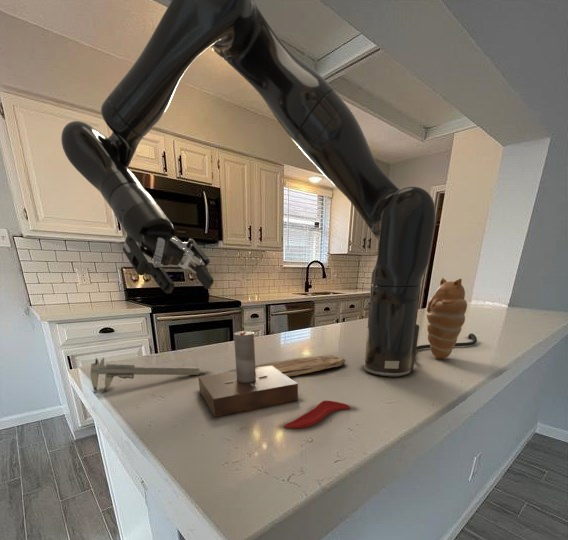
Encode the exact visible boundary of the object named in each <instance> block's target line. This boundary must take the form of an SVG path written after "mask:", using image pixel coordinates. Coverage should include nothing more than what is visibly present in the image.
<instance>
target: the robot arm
mask: <svg viewBox="0 0 568 540" xmlns="http://www.w3.org/2000/svg"><path fill="white" fill-rule="evenodd" d="M209 48H210V49H211V50H212V51H213V52H215V54H217V55H218V56H219V57H221V59H223V60H224V61H225V62H226V63H227V64H229V65H230V66H231V68H233V70H235V71H236V72H237V73H238V74H239V75H240V76H241V77H243V79H244V80H245V81H246V82H248V84H250V86H252V88H254V90H255V91H256V92H257V94H259V95H260V97H261V98H262V100H263V101H264V102H265V104H266V105H267V107H268V108H269V110H270V111H271V113H272V114H273V115H274V117H275V119H276V120H277V122H278V123H279V124H280V125H281V127H282V128H283V130H284V131H285V132H286V134H287V135H288V136H289V138H290V139H291V140H292V141H293V143H294V144H295V145H296V146H298V148H299V149H300V150H301V152H302V153H303V154H304V155H305V156H306V157H307V158H308V159H309V161H310V162H312V163H313V165H314V166H316V168H317V169H318V170H319V171H320V172H321V173H322V174H323V176H325V177H326V178H327V179H328V180H329V182H331V184H333V185H334V186H335V187H336V188H337V189H338V190H339V191H340V192H341V193H342V194H343V195H344V197H346V198H347V200H348V201H349V202H350V203H351V205H352V206H353V207H354V209H355V210H356V212H357V213H358V214H359V215H360V217H361V219H362V220H363V221H364V222H365V224H366V225H367V227H368V228H369V230H370V232H371V233H372V235H373V236H374V237H375V238H376V240H377V241H378V247H377V248H378V249H377V255H376V262H375V264H374V268H373V269H372V272H371V278H370V290H369V303H368V304H369V305H368V318H367V327H366V328H367V329H366V341H365V342H366V343H365V354H364V364H363V369H364V371H365V372H367V373H369V374H372V375H376V376H381V377H391V378H392V377H393V378H396V377H404V376H407V375H409V374H410V373H411V372H412V371H414V369H415V362H416V355H417V351H419V350H423V349H424V350H425V349H430V345H431V344H430V343H428V344H421V345H418V340H419V334H420V325H419V324H417V320H418V314H419V313H418V312H419V305H420V298H421V289H422V285H423V284H422V282H423V278H424V275H425V273H426V271H427V268H428V265H429V263H430V257H431V250H432V245H433V240H434V239H433V238H434V234H435V227H436V219H437V218H436V214H437V213H436V205H435V202H434V199H433V197H432V196H431V194H430V193H429V192H428V191H427V190H426V189H424V188H422V187H419V186H407V187H403V188H399V187H398V186H397V185H396V184H395V183H394V182H393V181H392V179H390V177H388V176H387V174H385V173H384V171H383V170H382V168H381V167H380V166H379V164H378V163H377V161H376V159H375V157H374V155H373V153H372V151H371V148H370V146H369V143H368V141H367V139H366V137H365V135H364V132H363V130H362V128H361V125H360V124H359V122H358V120H357V118H356V116H355V115H354V113H353V111H351V109H350V108H349V106H348V105H347V104H346V103H345V101H344V100H343V98H342V97H341V96H340V95H339V94H338V93H337V92H336V90H335V89H334V88H333V87H332V85H331V84H330V83H329V82H328V81H327V80H326V79H325V77H323V76H322V75H320V74H319V72H317V71H316V70H315V69H314V68H312V66H309V65H308V64H307V63H306V62H305V61H303V60H302V59H300V58H298V57H297V56H296V55H294V53H293V52H291V50H289V49H288V48H287V46H286V45H285V44H284V43H283V41H281V39H280V38H279V37H278V35H277V33H276V32H275V31H274V30H273V28H272V27H271V25H270V24H269V22H268V21H267V19H266V18H265V17H264V15H263V13H262V11H261V10H260V9H259V6H258V5H257V3H256V1H255V0H171V1H170V2H169V4H168V6H167V8H166V10H165V11H164V13H163V15H162V17H161V19H160V21H159V22H158V24H157V25H156V28H155V29H154V31H153V33H152V35H151V37H150V38H149V40H148V42H147V44H146V45H145V46H144V48H143V50H142V51H141V53H140V55H139V56H138V58H137V59H136V61H135V62H134V64H133V65H132V66H131V67H130V69H129V70H128V71H127V73H126V74H125V75H124V76H123V77H122V79H121V80H120V81H119V82H118V83H117V85H116V86H115V87H114V88H113V89H112V91H111V92H110V93H109V95H108V96H107V97H106V98H105V99H104V101H103V102H102V104H101V107H100V114H101V116H102V119H103V121H104V122H105V124H106V125H107V127H108V129H110V131H111V134H110V136H109V137H108V136H107V135H105V134H103V133H101V131H99V130H97V129H96V128H94V127H93V126H91V125H90V124H88V123H86V122H83V121H79V120H73V121H69V122H68V123H67V124H66V125H64V127H63V128H62V131H61V138H60V139H61V146H62V147H61V148H62V149H63V152H64V154H65V157H66V158H67V160H68V161H69V163H70V164H71V165H72V166H73V168H75V170H76V171H77V172H78V173H79V174H80V175H81V176H82V177H83V178H85V180H86V181H87V182H88V183H89V184H91V185H92V186H93V187H94V188H95V189H96V190H97V191H98V192H99V193H100V195H101V196H102V198H103V199H104V201H105V203H107V205H108V206H109V208H110V209H111V210H112V212H113V214H114V217H115V218H116V220H117V221H118V223H119V224H120V226H121V227H122V228H123V230H124V232H125V233H126V234H127V236H126V237H125V240H124V244H123V247H122V252H123V253H124V255H125V256H126V258H127V259H128V261H129V263H130V265H131V266H132V267H133V269H134V271H135V273H136V274H137V275H139V276H144V275H148V276H149V277H150V278H153V280H154V281H155V282H156V284H157V286H158V287H159V288H160V289H161V290H162V291H163V292H164V293H165V294H171V293H173V290H174V289H175V283H174V281H173V280H172V278H171V277H170V276H169V274H168V273H167V271H166V269H164V266H165V267H167V266H169V265H170V266H179V267H180V268H181V269H183V270H188V271H190V272H192V273H194V275H195V277H196V278H197V280H198V281H199V282H200V283H201V285H202V287H203V288H204V289H205V290H209V289H211V287H212V286H213V284H214V278H213V276H212V274H210V272H209V271H208V270H207V267H208V266H209V264H210V263H211V260H210V258H209V257H208V256H207V254H206V253H205V252H204V251H203V249H202V248H201V247H200V246H199V245H198V243H197V242H196V241H195V240H194V239H193V238H188V240H187V241H184V242H183V241H182V240H181V239H180V238H178V237H177V235H176V231H175V228H174V224H173V223H172V222H171V220H170V219H169V217H167V215H166V214H165V212H164V211H163V210H162V208H161V206H160V205H159V204H158V203H157V201H156V200H155V198H153V196H152V195H151V194H150V192H149V191H147V190H146V188H145V187H144V186H143V185H142V183H141V182H140V180H139V179H138V178H137V176H136V175H135V173H133V171H132V170H131V169H130V168H129V167H130V164H131V162H132V160H133V157H134V155H135V153H136V152H137V149H138V146H139V144H140V142H141V141H142V140H143V139H144V138H145V137H146V135H147V134H148V133H149V132H150V131H151V130H152V129H153V128H154V127H155V125H157V124H158V122H159V121H160V120H161V119H162V117H163V116H164V114H165V113H166V111H167V109H168V108H169V106H170V104H171V102H172V99H173V97H174V95H175V92H176V90H177V87H178V86H179V84H180V82H181V79H182V78H183V77H184V75H185V73H186V71H187V70H188V69H189V68H190V66H191V65H192V63H193V62H194V61H195V60H196V59H197V58H198V57H199V56H200V55H201V54H202V53H204V52H205V51H206V50H207V49H209ZM184 255H186V259H185V261H183V258H184ZM146 257H148V258H149V259H150V260H149V261H148V259H147V258H146ZM191 262H193V263H194V265H193V264H192V263H191ZM161 266H163V267H161ZM467 338H468V339H472V341H467V342H466V341H465V342H456V344H455V345H454V347H470V346H474V345H475V344H477V342H478V339H477V336H476V335H475V334H474V333H469V334H468V336H467Z"/></svg>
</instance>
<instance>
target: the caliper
mask: <svg viewBox="0 0 568 540" xmlns="http://www.w3.org/2000/svg"><path fill="white" fill-rule="evenodd" d="M205 373H206V370H205V369H201V368H200V367H198V366H164V365H163V366H161V365H135V363H121V362H116V363H115V362H106V364H105V357H102V358H101V359H100V361H99V359H98V357H97V356H95V361H94V362H92V363H91V365H90V374H89V375H90V376H89V377H90V380H91V385H92V388H93V391H94V392H97V391H98V385H99V384H98V383H99V375H105V377H104V378H105V379H104V390H105V392H107V391H108V390H109V389H110V387H111V384H112V381H113V379H114V377H118V378H120V379H131V380H133V379H134V378H135V375H137V376H139V375H146V376H147V375H148V376H150V375H153V376H155V375H157V376H160V375H163V376H165V375H166V376H167V375H168V376H199V375H200V374H205Z"/></svg>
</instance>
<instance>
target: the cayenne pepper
mask: <svg viewBox="0 0 568 540" xmlns="http://www.w3.org/2000/svg"><path fill="white" fill-rule="evenodd" d="M350 409H351V407H350V405H349V404H346V403H342V402H339V401H335V400H334V401H333V400H322V401H321V402H319V403H318V404H316V405H315V406H314V407H313V408H312V409H310V410H309V411H308V412H306V413H304V414H302V415H301V416H299V417H298V418H295V419H294V420H292V421H290V422H289V423H286V424H285V425H283V427H284V428H287V429H303V428H307V427H311V426H314V425H315V424H317V423H320V422H321V421H322V420H323V419H324V418H325V417H327V416H328V415H330V414H331V413H333V412H335V411H340V410H350Z"/></svg>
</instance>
